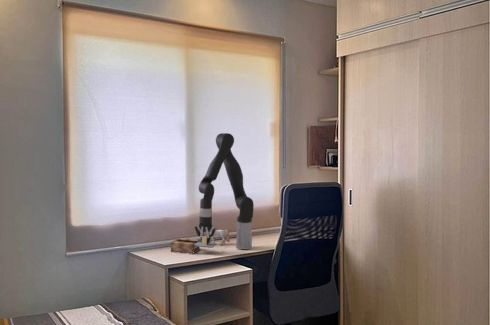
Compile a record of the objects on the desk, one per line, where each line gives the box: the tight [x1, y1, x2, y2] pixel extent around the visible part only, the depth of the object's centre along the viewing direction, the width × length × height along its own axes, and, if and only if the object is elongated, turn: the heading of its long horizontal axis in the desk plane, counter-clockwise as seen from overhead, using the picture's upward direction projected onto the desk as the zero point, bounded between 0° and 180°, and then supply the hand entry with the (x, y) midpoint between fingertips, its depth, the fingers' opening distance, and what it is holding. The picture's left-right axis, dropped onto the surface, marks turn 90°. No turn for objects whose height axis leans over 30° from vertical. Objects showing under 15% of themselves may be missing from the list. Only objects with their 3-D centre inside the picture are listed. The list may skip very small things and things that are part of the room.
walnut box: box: [170, 237, 201, 254], centre depth 306 cm, size 14×12×6 cm
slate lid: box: [193, 234, 217, 249], centre depth 302 cm, size 12×8×6 cm
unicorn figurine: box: [210, 228, 231, 246], centre depth 321 cm, size 7×20×13 cm, turn 119°
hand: (205, 243), depth 302 cm, fingers closed on slate lid, 3 cm apart
